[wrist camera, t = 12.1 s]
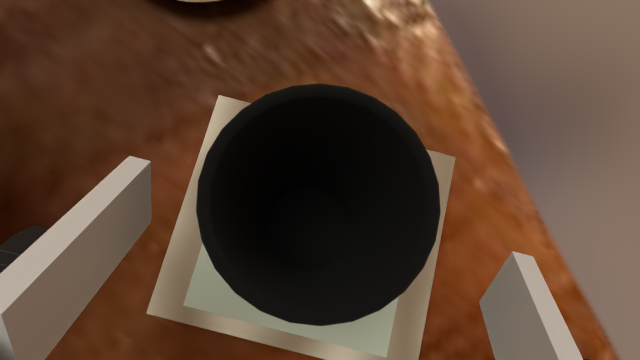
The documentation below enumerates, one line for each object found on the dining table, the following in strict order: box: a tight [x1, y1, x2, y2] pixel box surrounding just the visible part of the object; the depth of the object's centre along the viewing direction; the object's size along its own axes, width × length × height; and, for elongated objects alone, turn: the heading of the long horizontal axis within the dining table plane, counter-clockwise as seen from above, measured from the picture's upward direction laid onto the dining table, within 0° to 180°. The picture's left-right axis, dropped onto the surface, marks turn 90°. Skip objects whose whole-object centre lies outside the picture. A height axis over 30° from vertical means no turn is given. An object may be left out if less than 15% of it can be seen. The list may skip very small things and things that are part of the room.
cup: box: [196, 84, 441, 326], centre depth 18 cm, size 8×8×12 cm
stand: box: [146, 95, 456, 360], centre depth 26 cm, size 16×14×4 cm
